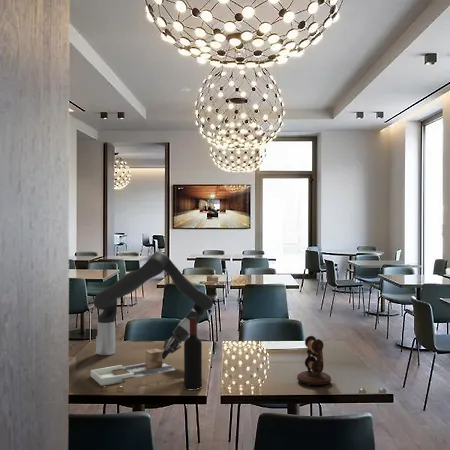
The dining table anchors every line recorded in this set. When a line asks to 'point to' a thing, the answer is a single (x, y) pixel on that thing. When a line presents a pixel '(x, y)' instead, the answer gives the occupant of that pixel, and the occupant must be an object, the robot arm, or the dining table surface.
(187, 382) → the wine bottle
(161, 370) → the slot plate
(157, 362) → the block
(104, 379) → the tray
